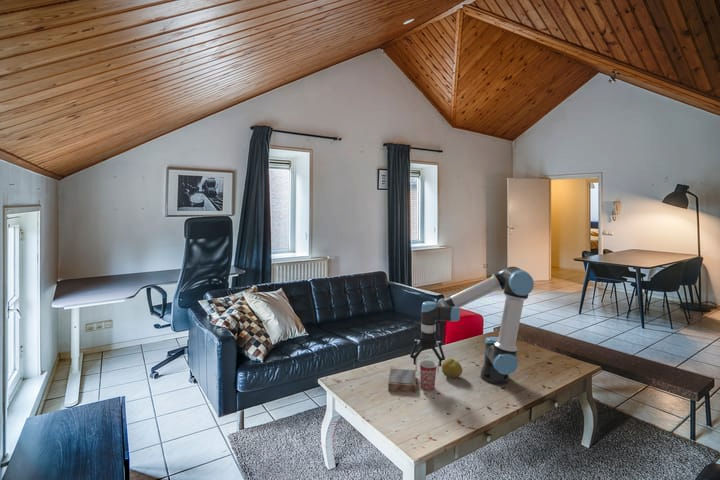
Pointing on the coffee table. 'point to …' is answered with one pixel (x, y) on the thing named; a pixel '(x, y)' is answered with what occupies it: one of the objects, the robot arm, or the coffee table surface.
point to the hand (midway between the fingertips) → (427, 371)
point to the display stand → (402, 380)
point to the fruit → (451, 368)
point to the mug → (428, 375)
